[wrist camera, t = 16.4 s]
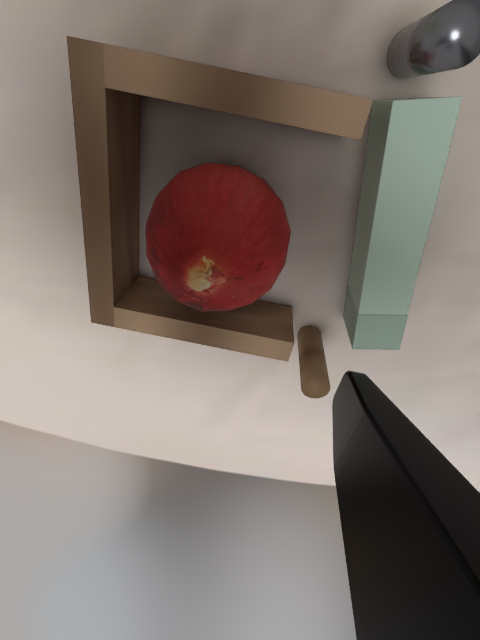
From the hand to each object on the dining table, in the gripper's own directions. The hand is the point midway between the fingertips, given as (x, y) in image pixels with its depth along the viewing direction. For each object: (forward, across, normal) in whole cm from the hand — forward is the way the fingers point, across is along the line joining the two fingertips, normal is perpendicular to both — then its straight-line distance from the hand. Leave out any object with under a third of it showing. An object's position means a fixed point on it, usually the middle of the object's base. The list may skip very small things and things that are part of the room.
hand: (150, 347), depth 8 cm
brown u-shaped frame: (+11, 0, 0) cm, 11 cm away
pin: (+11, -6, -8) cm, 15 cm away
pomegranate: (+11, 0, 0) cm, 11 cm away
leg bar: (+11, -8, -1) cm, 14 cm away
